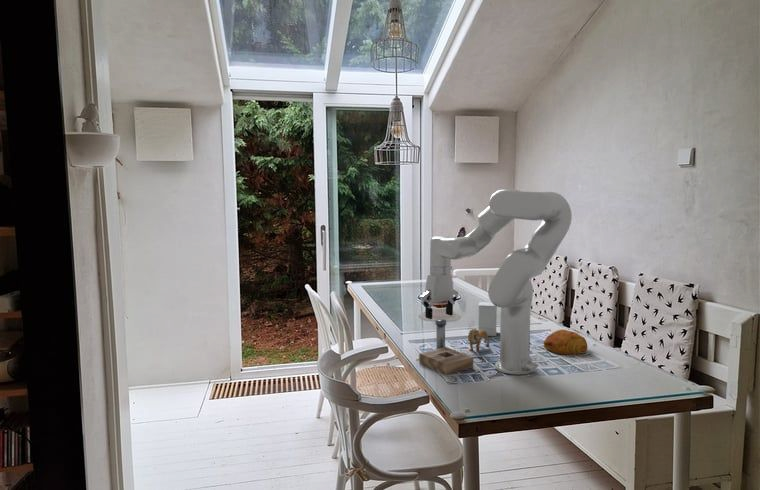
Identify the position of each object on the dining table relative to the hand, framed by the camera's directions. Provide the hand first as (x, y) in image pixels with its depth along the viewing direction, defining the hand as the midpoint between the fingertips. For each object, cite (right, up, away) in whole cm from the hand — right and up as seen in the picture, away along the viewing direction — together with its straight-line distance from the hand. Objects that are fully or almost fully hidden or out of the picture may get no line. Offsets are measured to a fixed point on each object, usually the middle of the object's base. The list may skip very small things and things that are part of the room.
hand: (439, 316), depth 188 cm
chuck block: (+1, -15, -13) cm, 20 cm away
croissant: (+47, -13, +3) cm, 48 cm away
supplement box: (+23, -11, +25) cm, 36 cm away
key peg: (+1, -13, +1) cm, 13 cm away
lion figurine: (+15, -13, +4) cm, 20 cm away
